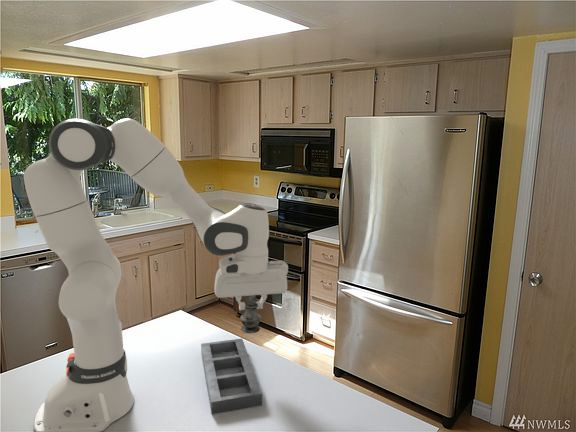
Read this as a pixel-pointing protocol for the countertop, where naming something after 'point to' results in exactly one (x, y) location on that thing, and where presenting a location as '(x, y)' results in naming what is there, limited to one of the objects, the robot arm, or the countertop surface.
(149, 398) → the countertop surface
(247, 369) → the grey rectangular frame piece
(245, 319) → the grey stone finial
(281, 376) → the countertop surface
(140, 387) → the countertop surface
